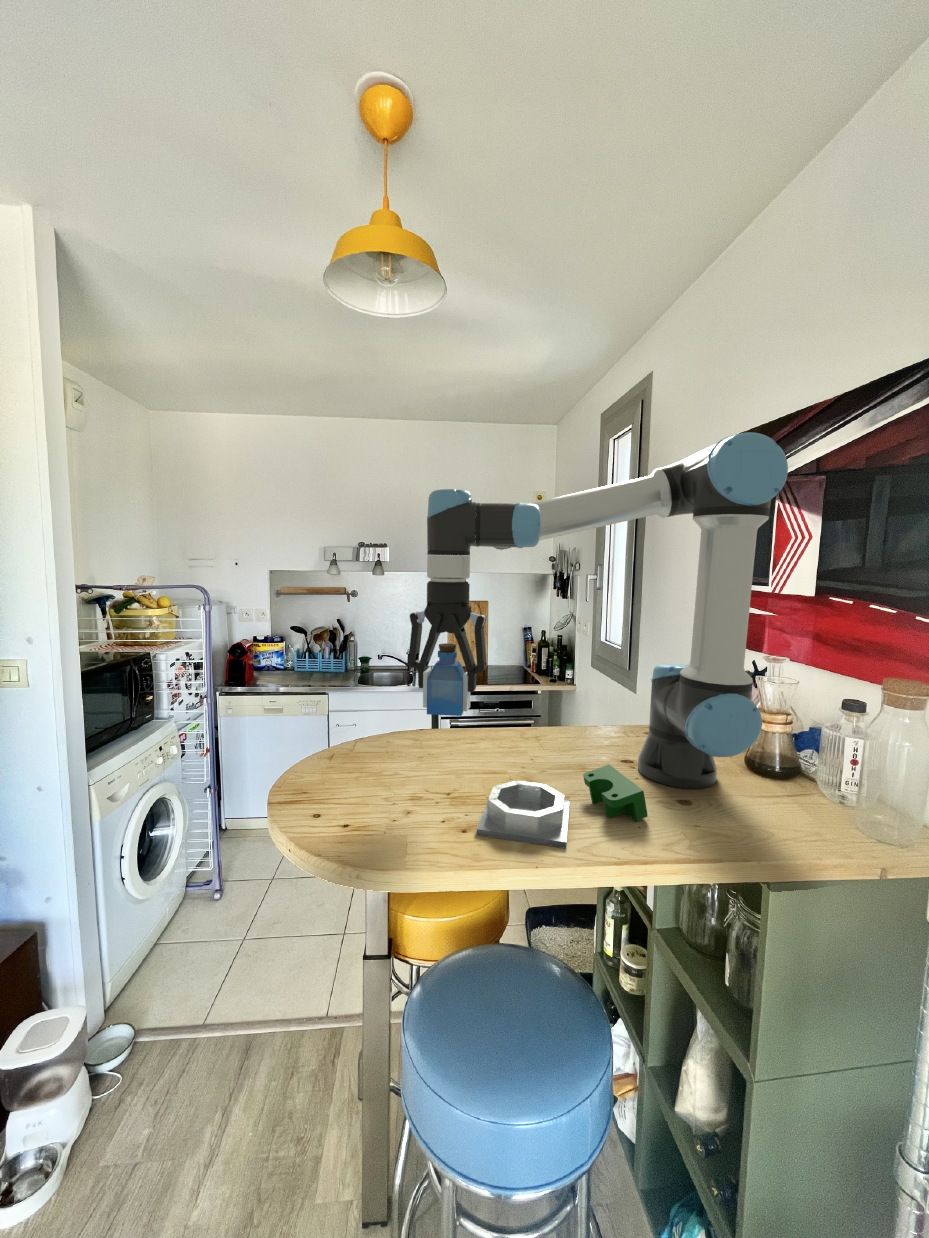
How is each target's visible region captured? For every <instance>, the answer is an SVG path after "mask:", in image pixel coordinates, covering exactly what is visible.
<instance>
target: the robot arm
mask: <svg viewBox="0 0 929 1238" xmlns="http://www.w3.org/2000/svg"><path fill="white" fill-rule="evenodd" d="M788 464H789V463H788V459H787V457H786V454H785V452H784V450H783V449H782V447H781V446H780V445H778V444H777V442H776V441H775V440H774V439H772V438H771V437H770V436H767V435H765V434H762V433H758V432H751V431H750V432H741V433H738V434H735V435H729V436H727V437H724V438H722V439H720V440H719V441H717V442H716V443H715V444H713V445H710V446H709V447H706V448H704V449H702V450H700V451H698V452H696V453H693V454H692V455H689V456H688V457H686V458H684V459H682V460H680V461H677V462H675V463H672V464H669V465H667V466H663V467H657V468H655V469H654V470H653V471H652V472H651V474H650V475H648V476H647V475H646V476H644V477H643V476H642V477H639V478H635V479H630V480H629V479H628V480H626V481H621V482H618V483H613V484H608V485H605V486H600V487H596V488H591V489H587V490H584V491H578V492H575V493H570V494H566V495H561V496H557V497H552V498H549V499H544V500H539V501H537V502H532V503H524V502H517V503H514V502H513V503H512V502H511V503H510V502H509V503H505V502H504V503H503V502H502V503H501V502H498V503H495V502H494V503H491V502H489V503H488V502H487V503H484V502H483V503H480V502H475V501H473V499H472V494H471V492H470V491H468V490H464V489H454V488H444V489H443V488H442V489H435V490H433V491H431V493H429V496H428V504H427V517H426V526H427V527H426V532H427V534H426V537H427V538H426V539H427V540H426V541H427V542H426V543H427V545H426V546H427V547H426V548H427V550H426V551H427V555H426V556H427V557H426V577H427V578H428V579H429V581H427V583H426V607H425V608H424V610H422V611H415V612H411V613H410V614H409V619H410V625H411V629H410V630H411V632H410V641H409V642H410V643H409V649H408V659H407V661H408V662H407V664H408V667H410V668H413V669H416V670H417V676H418V677H417V686H418V688H419V689H422V708H424V709H425V708H426V709H427V679H428V677H429V675H430V673H431V671H432V669H433V668H432V669H431V668H430V669H429V667H430V665H429V664H430V661H431V658H432V656H433V653H434V652H435V651H434V650H435V648H436V645H437V642H438V640H439V637H440V635H441V634H442V633H449V634H453V635H454V638H455V639H456V642H457V645H458V648H459V650H460V654H461V657H462V660H463V662H464V667H465V669H466V671H465V674H464V675H463V712H467V711H469V709H470V708H471V693H474V692H475V691H476V689H477V673H482V672H484V671H485V670H486V669H487V667H488V664H487V653H486V652H487V651H486V639H485V638H486V637H485V625H486V621H487V616H486V615H485V614H478V613H474V612H472V610H471V608H470V607H471V606H470V587H471V586H470V583H469V581H467V580H468V579H469V578H470V577H471V576H470V575H471V574H470V573H471V547H476V548H477V547H485V548H486V547H488V548H491V547H492V548H495V549H496V550H501V551H503V550H507V549H511V548H518V549H523V548H535V547H536V546H537V545H539V544H538V543H539V541H543V540H548V539H552V538H556V537H562V536H565V535H571V534H575V533H580V532H583V531H588V530H593V529H597V528H601V527H605V526H610V525H614V524H619V523H624V522H627V521H633V520H637V519H642V518H646V517H651V516H655V515H657V516H659V517H660V518H662V519H663V518H670V517H674V516H680V515H689V514H692V520H693V522H695V524H697V525H698V527H700V541H699V552H698V564H697V565H698V566H697V576H696V589H695V591H696V592H695V603H694V613H693V624H692V626H693V627H692V637H691V650H690V661H689V663H688V664H683V663H682V664H681V663H680V664H678V663H669V664H668V663H662V664H657V665H656V666H654V668H653V672H652V677H651V679H650V681H651V690H650V692H651V693H650V707H649V709H650V711H649V725H648V726H649V728H648V735H647V737H646V739H645V741H644V743H643V746H642V747H641V750H640V752H639V755H638V757H637V758H638V759H637V760H638V761H637V769H638V772H640V773H641V774H642V776H644V777H645V778H647V779H649V780H651V781H654V782H657V783H659V784H662V785H665V786H669V787H674V788H680V789H681V788H682V789H693V790H694V789H704V788H709V787H711V786H713V785H715V783H716V782H717V774H718V771H717V766H716V762H715V759H714V757H716V758H731V757H735V756H738V755H740V754H742V753H744V752H745V751H747V749H748V748H751V747H752V746H753V745H754V744H755V743H756V741H758V739H759V737H760V735H761V731H762V728H763V718H762V713H761V711H760V709H758V707H757V705H756V704H755V703H754V701H753V700H752V695H753V693H752V692H753V681H754V679H753V677H751V676H750V674H749V673H747V671H746V670H745V659H746V649H747V641H748V640H747V638H748V629H749V617H750V607H751V597H752V589H753V588H752V587H753V577H754V576H753V575H754V565H755V556H756V547H757V536H758V529H759V528H760V527H761V526H762V525H765V523H766V522H767V521H769V519H770V511H771V502H772V499H773V498H774V497H776V496H777V495H778V493H779V492H781V490H782V489H783V488H784V486H785V484H786V481H787V478H788V473H789V465H788ZM425 618H426V620H427V621H428V623H429V624H430V625H431V626H430V629H429V632H428V637H427V640H426V643H425V645H424V648H423V651H422V654H421V656H420V651H421V642H422V633H423V623H424V622H425ZM470 620H471V624H472V626H473V627H474V629H473V630H474V631H473V632H474V642H475V644H474V645H475V654H476V655H475V657H476V662H475V658H474V655H473V652H472V649H471V646H470V643H469V640H468V637H467V632H466V629H465V628H466V627H465V625H466V624H467V622H469V621H470ZM419 659H420V660H419Z"/></svg>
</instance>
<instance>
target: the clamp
mask: <svg viewBox="0 0 929 1238" xmlns="http://www.w3.org/2000/svg"><path fill="white" fill-rule="evenodd" d="M583 781H584V784H585V785H586V786H587V787H588V790H589V794H590V800H591V803H592V804H593V805H596V804H600V803H603V807H604V808H603V809H604V812H605V817H606V818H607V819H610V818H613V817H617V816H618V815H621V814H626V815H627V816H629V818H631V819H632V820H633V821H634V822H637V821H640V820H642V819H646V818H647V817H648V810H647V803H646V798H645V792H644V789H642V788H641V787H640V786H639V785H638V784H635V783H634V782H633V781H632V780H630V779H629V778H628V777H626V776H625V775H624V774H622V773H621V772H620V771H619V770H617V769H616V768H615V767H613V766H612V765H611V764H606V765H603V766H601V767H598V768H596V769H591V770H589V771H587V772H585V773H583Z"/></svg>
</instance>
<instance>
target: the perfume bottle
mask: <svg viewBox="0 0 929 1238" xmlns="http://www.w3.org/2000/svg"><path fill="white" fill-rule="evenodd" d="M456 646H457V644H456V643H448V642H446V643H439V644H438V649H439V650H438V651H437V658H439V659H438V660H437V661H436V663H435V664H434V665H433V667H432V671H431V673H430V675H429V677H428V679H427V708H426V715H430V716H433V715H434V716H435V715H436V716H455V717H462V716H463V713H464V711H463V675H464V674H465V673H466V671H465V669H464V667H463V666H462V664H461V661H458V660H457V661H456V658H457V657H458V651H457V650H456V648H457V647H456Z"/></svg>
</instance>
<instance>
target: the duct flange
mask: <svg viewBox="0 0 929 1238" xmlns="http://www.w3.org/2000/svg"><path fill="white" fill-rule="evenodd" d="M570 803H571V801H570V800H566V799H565V794H563V793H562V792H559V791H558V790H556V789H555V788H553V787H551V786H549V785H547V784H546V783H539V782H531V781H524V780H518V779H517V780H513V781H509V782H505V783H502V784H496V785H493V786H492V789H491V792H490V793H489V796H488V798H487V803H486V806H485V808H484V811H483V813H482V814H481V815H482V816H481V818H480V820H479V822H478V824H477V827H476V833H475V834H476V836H480V837H487V838H495V839H500V840H507V841H514V842H521V843H529V844H533V845H542V846H547V847H555V848H560V849H567V840H568V839H567V838H568V829H569V828H568V827H569V817H570V816H569V815H570V806H571V805H570Z"/></svg>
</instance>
